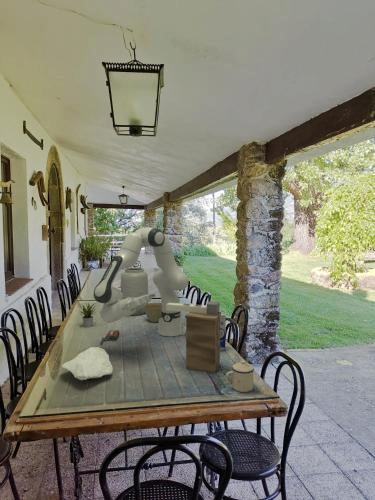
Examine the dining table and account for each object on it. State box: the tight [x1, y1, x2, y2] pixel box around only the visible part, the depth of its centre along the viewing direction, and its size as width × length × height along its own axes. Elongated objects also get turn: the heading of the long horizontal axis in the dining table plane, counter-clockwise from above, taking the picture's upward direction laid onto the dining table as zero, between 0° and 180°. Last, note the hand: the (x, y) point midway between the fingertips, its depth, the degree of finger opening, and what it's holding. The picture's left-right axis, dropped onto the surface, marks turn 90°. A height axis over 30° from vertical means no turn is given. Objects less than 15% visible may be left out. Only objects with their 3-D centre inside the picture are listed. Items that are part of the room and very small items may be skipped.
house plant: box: [79, 302, 98, 328], centre depth 243 cm, size 14×14×16 cm
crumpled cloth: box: [61, 346, 113, 381], centre depth 171 cm, size 24×35×9 cm
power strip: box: [166, 300, 221, 315], centre depth 181 cm, size 6×26×5 cm, turn 73°
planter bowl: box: [144, 302, 162, 323], centre depth 256 cm, size 16×16×11 cm
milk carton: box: [220, 314, 227, 352], centre depth 201 cm, size 7×7×20 cm
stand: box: [184, 311, 222, 374], centre depth 177 cm, size 12×15×26 cm
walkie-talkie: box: [99, 329, 120, 345], centre depth 217 cm, size 9×4×20 cm
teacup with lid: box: [225, 360, 255, 393], centre depth 156 cm, size 12×9×12 cm
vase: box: [120, 267, 149, 316], centre depth 275 cm, size 20×20×34 cm
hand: (152, 296), depth 188 cm, fingers open, 8 cm apart
